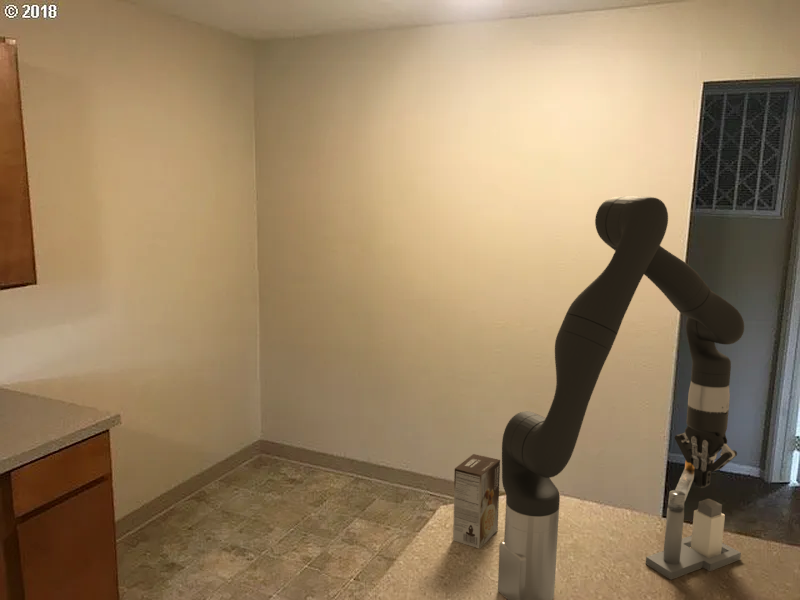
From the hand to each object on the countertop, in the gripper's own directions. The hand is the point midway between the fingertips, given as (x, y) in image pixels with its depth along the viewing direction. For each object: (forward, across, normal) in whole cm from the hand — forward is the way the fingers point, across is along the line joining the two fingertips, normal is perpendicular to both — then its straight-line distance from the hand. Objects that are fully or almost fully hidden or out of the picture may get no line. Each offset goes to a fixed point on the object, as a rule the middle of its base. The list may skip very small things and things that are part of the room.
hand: (701, 486), depth 139 cm
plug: (+12, +4, -3) cm, 13 cm away
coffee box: (+12, -26, -38) cm, 47 cm away
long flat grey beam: (0, 0, -6) cm, 6 cm away
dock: (+12, +3, -7) cm, 15 cm away
